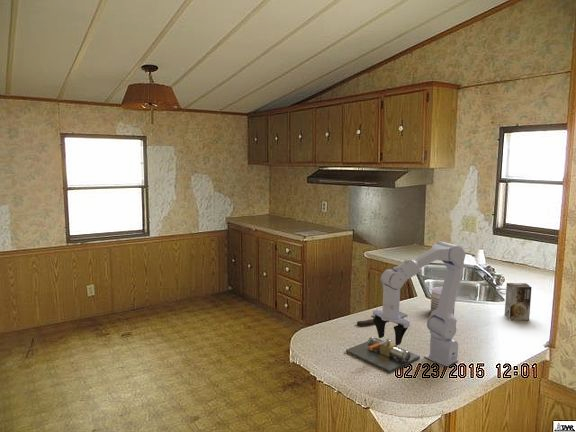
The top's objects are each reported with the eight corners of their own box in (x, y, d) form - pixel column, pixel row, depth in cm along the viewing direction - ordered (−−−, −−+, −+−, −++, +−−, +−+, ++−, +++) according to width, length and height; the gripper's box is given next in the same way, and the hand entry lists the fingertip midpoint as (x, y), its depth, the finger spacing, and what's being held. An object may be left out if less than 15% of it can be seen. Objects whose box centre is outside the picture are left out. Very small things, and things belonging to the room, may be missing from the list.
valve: (419, 358, 164) (420, 344, 163) (389, 373, 152) (390, 358, 152) (376, 340, 180) (376, 327, 179) (345, 352, 168) (346, 338, 168)
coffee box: (523, 315, 209) (526, 283, 207) (529, 320, 203) (532, 287, 201) (503, 314, 210) (506, 282, 208) (509, 319, 204) (511, 286, 201)
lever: (388, 340, 166) (388, 338, 166) (392, 342, 164) (392, 339, 164) (368, 349, 158) (368, 346, 158) (372, 350, 157) (372, 348, 157)
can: (458, 317, 206) (459, 293, 204) (434, 317, 206) (435, 293, 204) (449, 309, 217) (451, 286, 215) (426, 309, 217) (428, 285, 215)
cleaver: (364, 329, 192) (364, 324, 191) (349, 322, 200) (349, 317, 199) (409, 317, 208) (410, 312, 207) (394, 311, 216) (394, 307, 216)
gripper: (367, 300, 156) (366, 336, 157) (401, 312, 144) (399, 351, 146) (380, 296, 160) (378, 332, 162) (413, 307, 149) (412, 345, 151)
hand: (389, 340), depth 154 cm, fingers open, 7 cm apart
